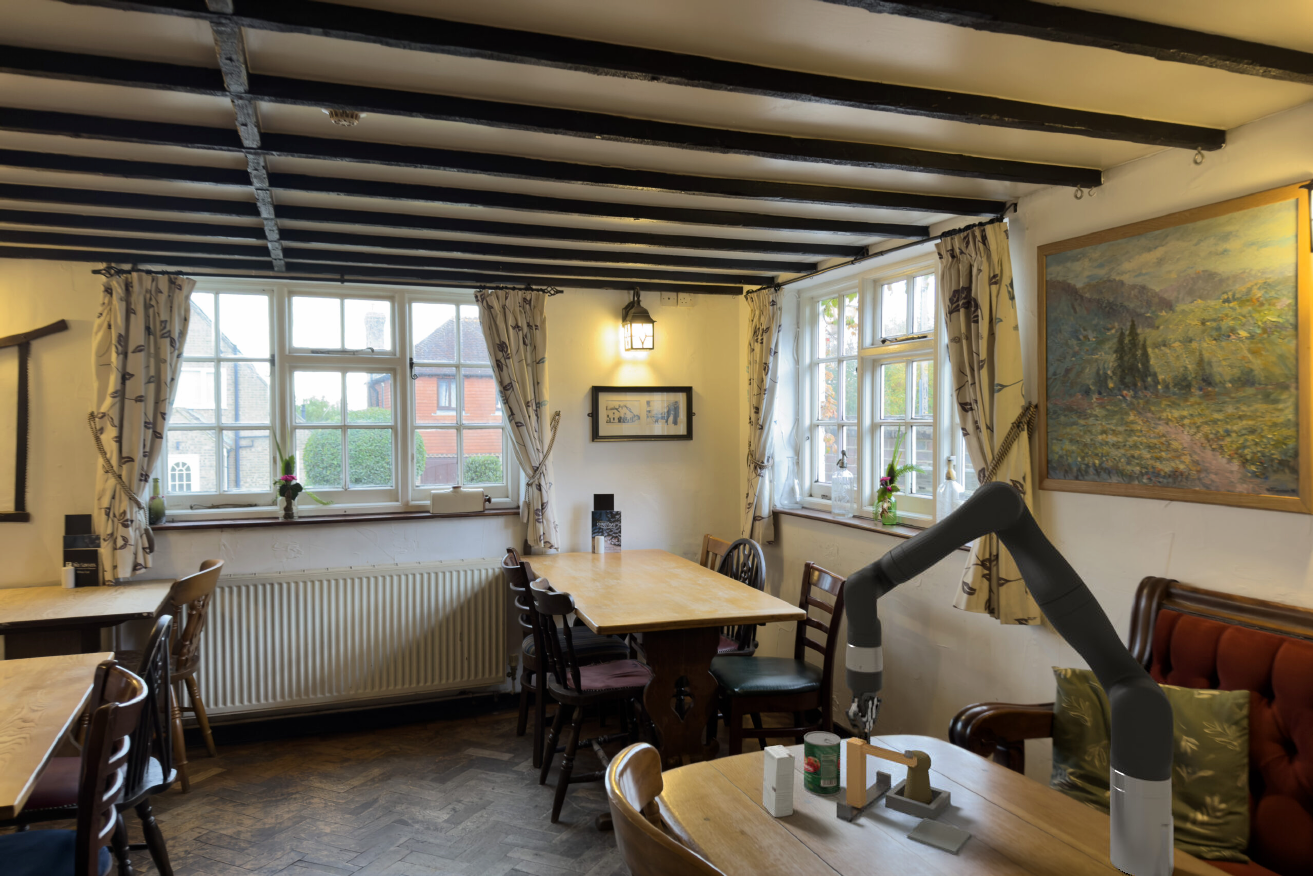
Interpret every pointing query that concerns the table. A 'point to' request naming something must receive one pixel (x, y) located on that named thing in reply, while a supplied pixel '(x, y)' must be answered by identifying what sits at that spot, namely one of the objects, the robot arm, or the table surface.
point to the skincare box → (778, 781)
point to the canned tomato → (822, 763)
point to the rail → (872, 794)
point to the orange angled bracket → (858, 767)
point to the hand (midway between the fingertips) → (864, 748)
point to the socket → (915, 808)
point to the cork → (919, 779)
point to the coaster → (939, 835)
